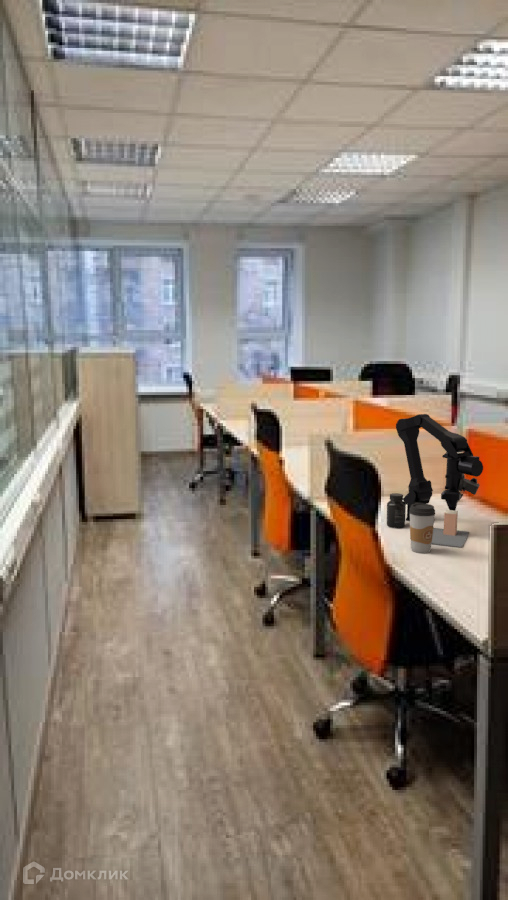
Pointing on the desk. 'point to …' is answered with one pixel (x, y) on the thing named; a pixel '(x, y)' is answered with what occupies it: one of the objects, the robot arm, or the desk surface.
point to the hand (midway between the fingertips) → (452, 514)
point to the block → (450, 522)
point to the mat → (449, 538)
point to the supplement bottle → (396, 511)
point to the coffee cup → (421, 527)
